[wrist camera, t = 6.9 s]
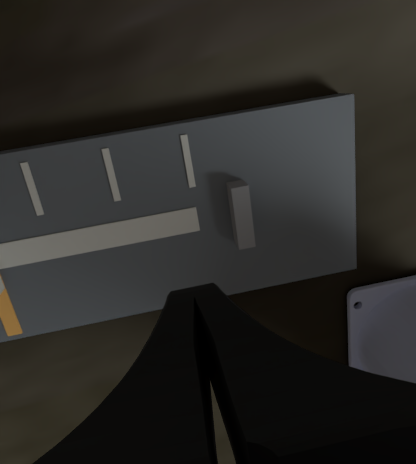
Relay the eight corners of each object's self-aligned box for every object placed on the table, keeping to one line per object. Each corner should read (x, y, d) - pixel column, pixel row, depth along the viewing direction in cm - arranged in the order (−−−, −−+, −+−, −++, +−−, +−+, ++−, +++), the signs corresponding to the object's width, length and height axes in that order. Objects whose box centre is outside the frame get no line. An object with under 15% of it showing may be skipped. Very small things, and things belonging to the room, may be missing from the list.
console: (343, 257, 23) (368, 278, 20) (-50, 337, 21) (-77, 372, 18) (339, 93, 19) (367, 94, 17) (-128, 173, 18) (-174, 187, 15)
